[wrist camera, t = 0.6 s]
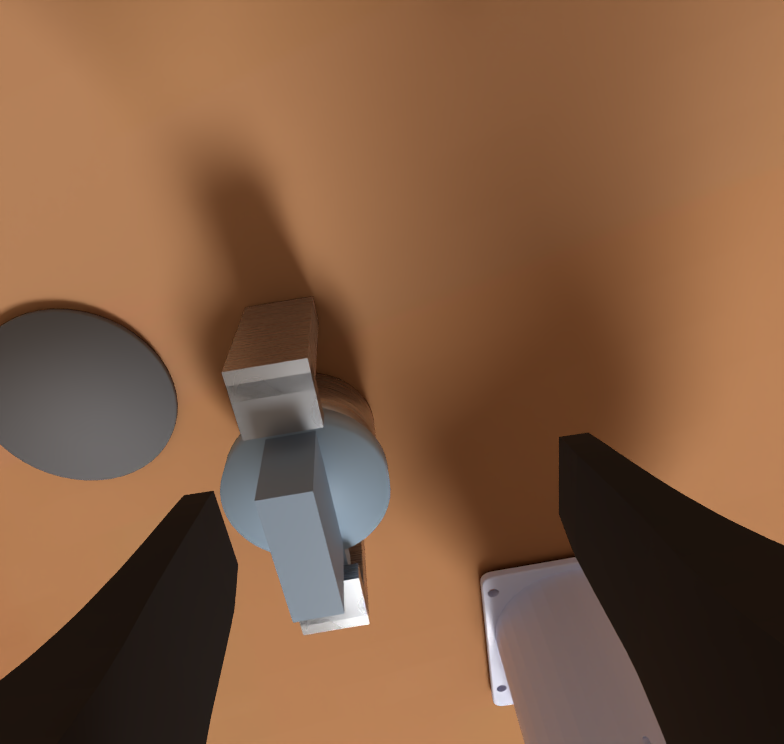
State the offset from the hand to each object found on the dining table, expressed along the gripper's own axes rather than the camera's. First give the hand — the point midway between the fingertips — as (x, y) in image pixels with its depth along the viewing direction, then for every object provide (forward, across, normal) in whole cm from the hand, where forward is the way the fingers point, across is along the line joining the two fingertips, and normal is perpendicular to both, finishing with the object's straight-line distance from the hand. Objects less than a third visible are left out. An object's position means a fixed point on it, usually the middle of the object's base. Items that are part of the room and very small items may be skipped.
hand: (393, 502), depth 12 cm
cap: (+7, +3, +4) cm, 9 cm away
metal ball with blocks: (+10, +3, +4) cm, 11 cm away
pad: (+10, +11, +1) cm, 15 cm away
